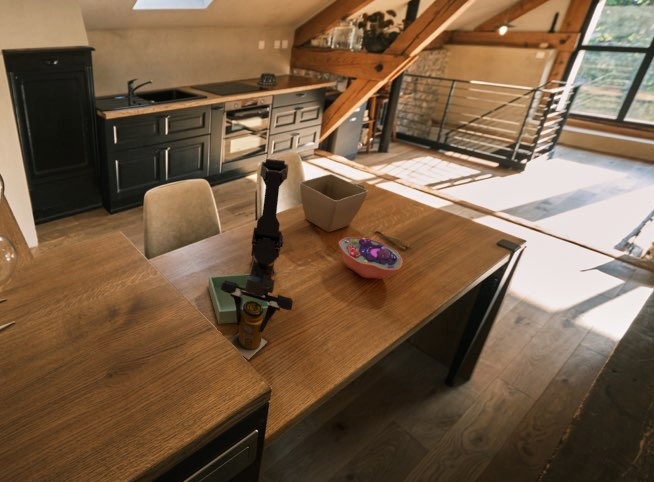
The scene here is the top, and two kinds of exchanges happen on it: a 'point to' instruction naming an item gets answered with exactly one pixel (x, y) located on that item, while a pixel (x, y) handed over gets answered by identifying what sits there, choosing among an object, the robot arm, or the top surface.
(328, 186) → the flower pot
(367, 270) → the cell model
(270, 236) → the robot arm
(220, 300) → the tray
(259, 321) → the condiment
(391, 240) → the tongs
